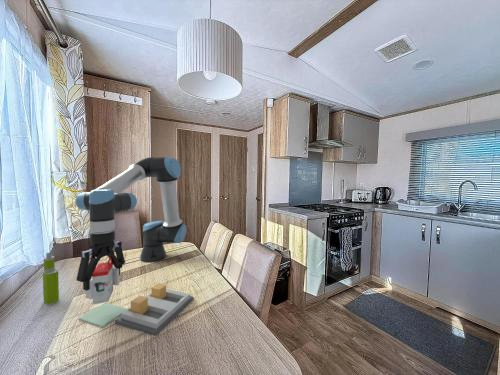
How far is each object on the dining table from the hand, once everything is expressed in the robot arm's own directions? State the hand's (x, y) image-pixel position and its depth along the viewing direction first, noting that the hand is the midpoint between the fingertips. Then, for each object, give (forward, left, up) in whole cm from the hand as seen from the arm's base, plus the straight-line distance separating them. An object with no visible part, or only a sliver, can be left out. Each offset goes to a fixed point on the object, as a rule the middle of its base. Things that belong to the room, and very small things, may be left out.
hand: (103, 290), depth 78 cm
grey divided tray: (-9, +17, -9) cm, 21 cm away
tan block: (-14, +13, -8) cm, 21 cm away
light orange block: (-4, +13, -8) cm, 16 cm away
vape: (+1, -29, -10) cm, 31 cm away
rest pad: (0, 0, -9) cm, 9 cm away
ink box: (0, 0, -3) cm, 3 cm away
